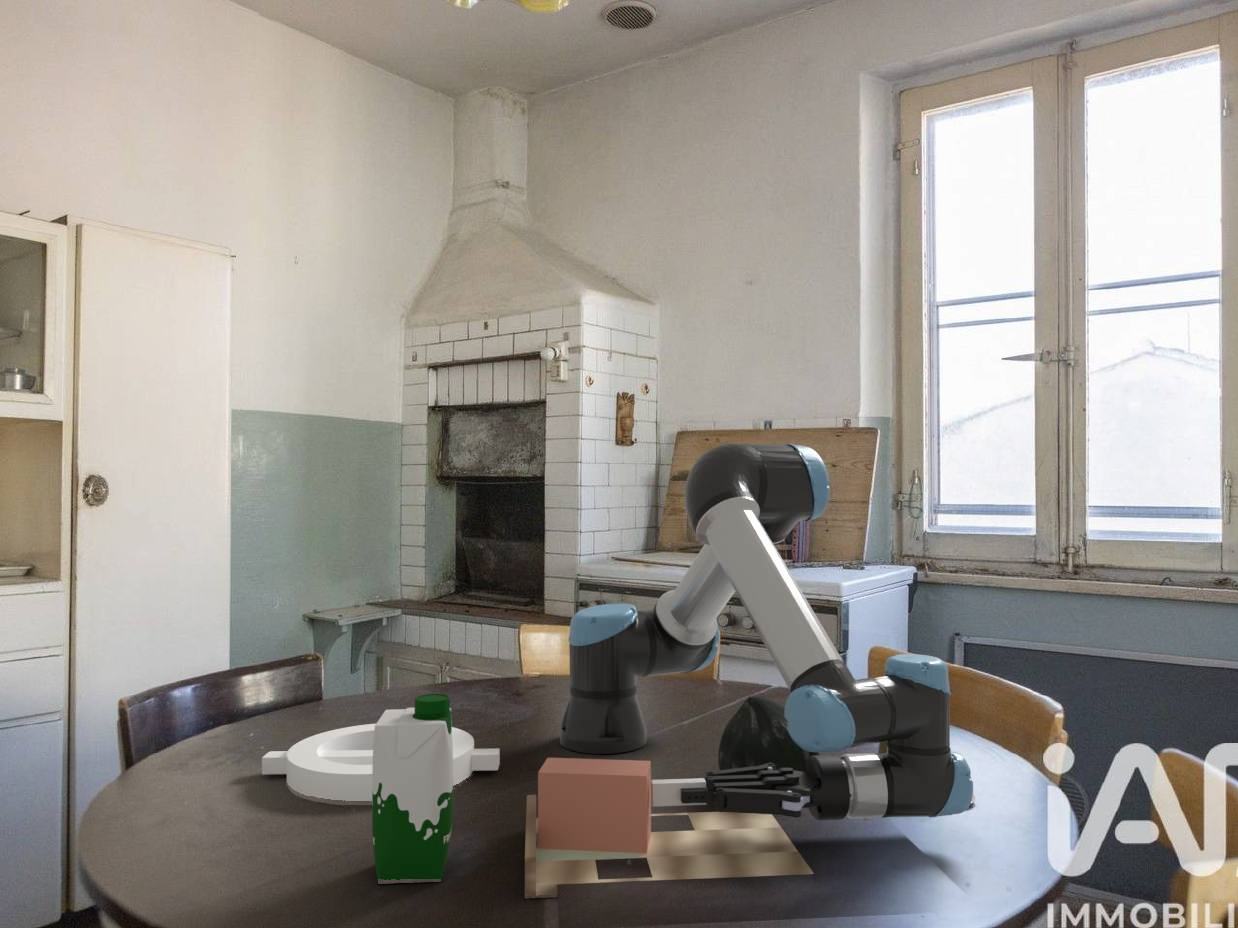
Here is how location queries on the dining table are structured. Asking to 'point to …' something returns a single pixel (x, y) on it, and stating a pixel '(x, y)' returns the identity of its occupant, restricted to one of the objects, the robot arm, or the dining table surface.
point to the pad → (578, 854)
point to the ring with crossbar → (357, 762)
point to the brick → (594, 805)
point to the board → (681, 852)
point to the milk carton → (413, 790)
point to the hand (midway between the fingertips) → (652, 792)
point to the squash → (760, 738)
